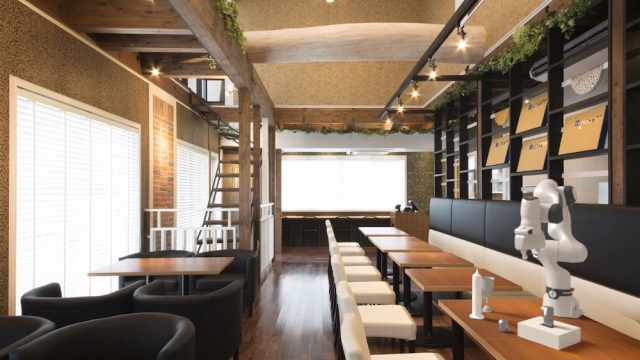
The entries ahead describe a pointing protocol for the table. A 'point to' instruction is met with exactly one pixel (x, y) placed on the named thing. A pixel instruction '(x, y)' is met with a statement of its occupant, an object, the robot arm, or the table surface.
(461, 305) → the table surface
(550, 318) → the long pin
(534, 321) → the hole block
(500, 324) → the short pin
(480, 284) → the candle
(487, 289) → the chalice
